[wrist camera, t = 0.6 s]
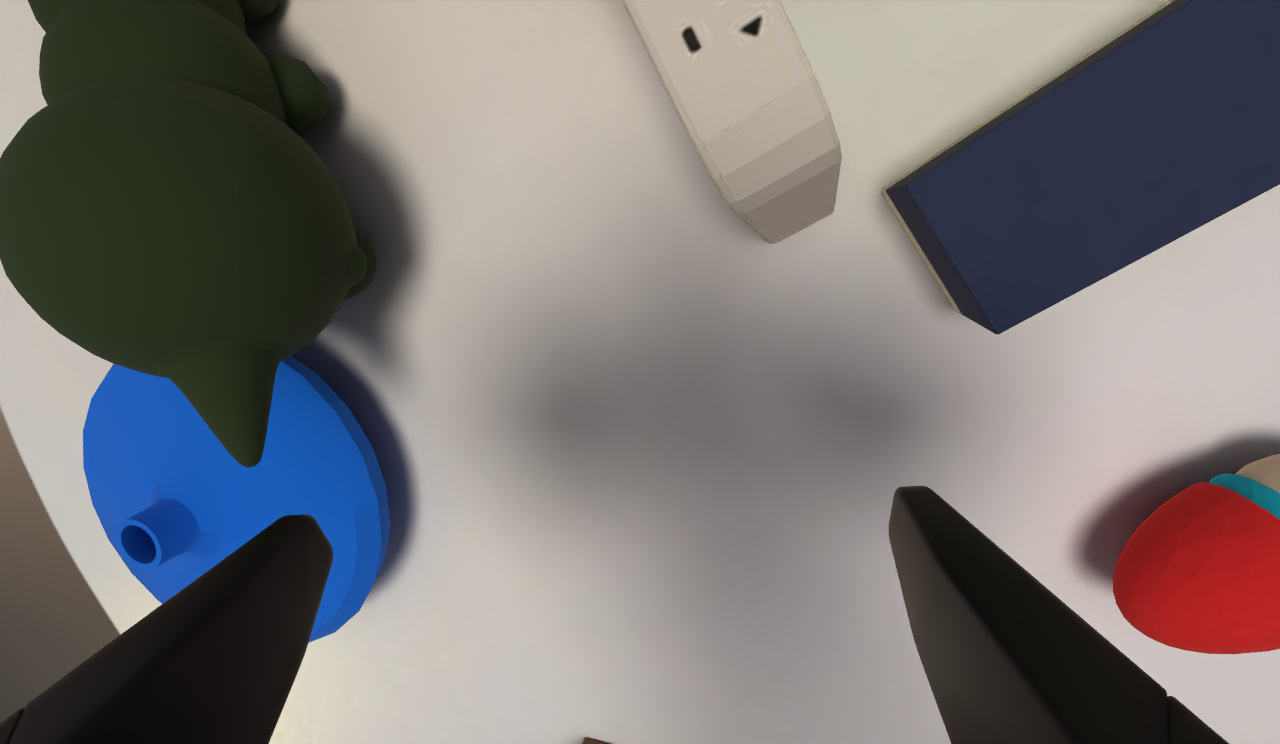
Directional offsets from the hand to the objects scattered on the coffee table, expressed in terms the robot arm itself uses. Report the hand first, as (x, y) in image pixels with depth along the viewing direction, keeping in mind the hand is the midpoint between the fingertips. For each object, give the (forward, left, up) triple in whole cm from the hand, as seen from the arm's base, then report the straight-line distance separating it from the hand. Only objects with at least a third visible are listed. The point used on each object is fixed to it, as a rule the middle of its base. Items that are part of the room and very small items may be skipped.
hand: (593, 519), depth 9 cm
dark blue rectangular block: (-8, -11, -15) cm, 20 cm away
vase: (+16, +16, -15) cm, 27 cm away
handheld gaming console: (+5, -10, -15) cm, 19 cm away
